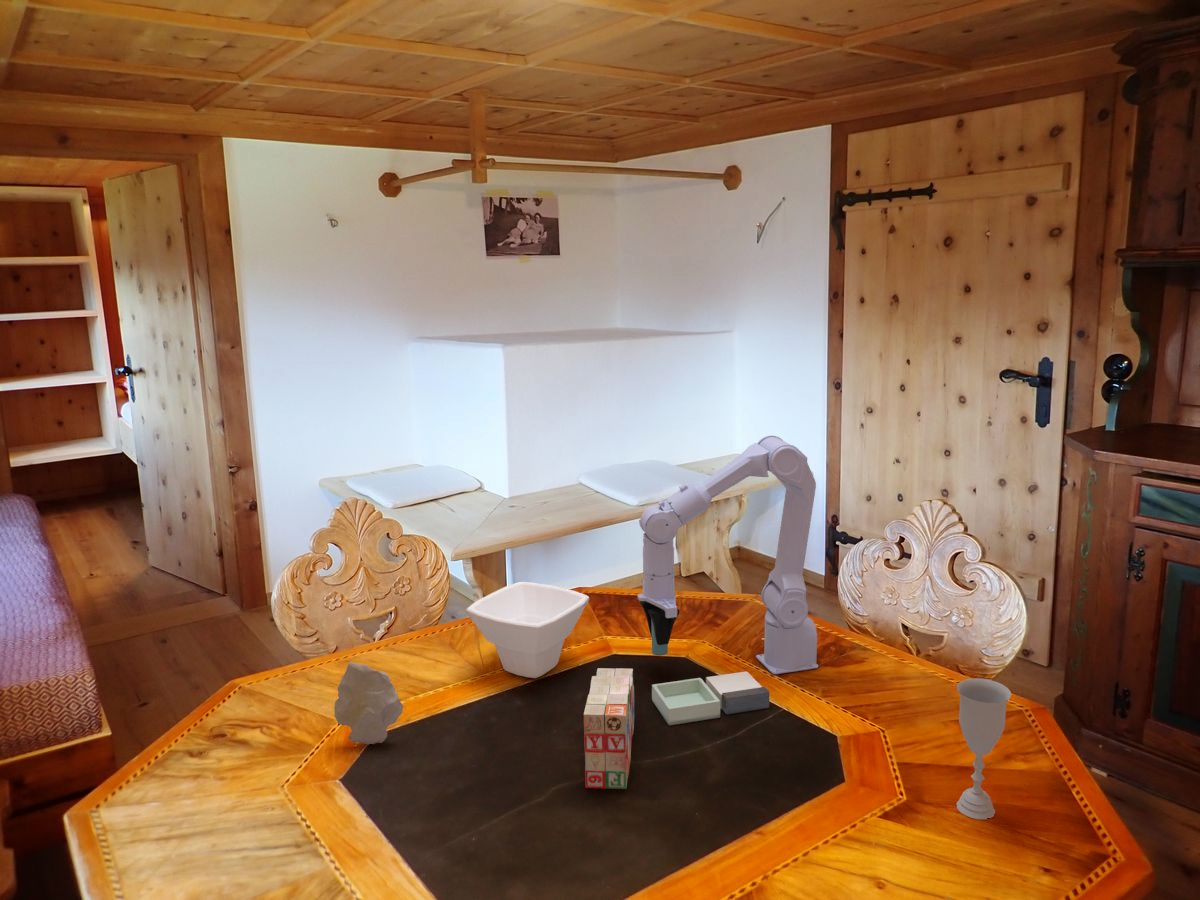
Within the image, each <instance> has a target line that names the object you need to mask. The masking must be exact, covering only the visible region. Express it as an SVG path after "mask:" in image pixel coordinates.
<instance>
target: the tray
mask: <svg viewBox="0 0 1200 900" xmlns="http://www.w3.org/2000/svg"><path fill="white" fill-rule="evenodd" d="M651 701H652V702H653V704H654V705H655V707H656V708H657V710H658V712H660V715H661V716H662V717H663V719H664V721H665V722H666V723H667V725H668V726H674V725H680V724H681V725H682V724H687V723H692V722H699V721H706V720H712V719H718V718H721V708H720V700H719V699H718V698H717V697H716V696H715V694H714V693H713V692H712V691H711V690H710V688H709V687H708V686H707V685H706V681H704V680H703V679H702V678H701V677H697V678H689V679H682V680H677V681H670V682H669V681H668V682H662V683H655V684H651Z"/></svg>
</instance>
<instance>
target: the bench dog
mask: <svg viewBox="0 0 1200 900" xmlns="http://www.w3.org/2000/svg"><path fill="white" fill-rule="evenodd" d="M770 693H771V692H770V691H769V689H768V688H767V687H766V686H762V687H759V688H753V689H746V690H740V691H733V692H726V693H722V709H721V710H722V711H723V712H724V713H725V715H732V714H738V713H745V712H750V711H758V710H764V709H769V708H770Z"/></svg>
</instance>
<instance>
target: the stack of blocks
mask: <svg viewBox="0 0 1200 900" xmlns="http://www.w3.org/2000/svg"><path fill="white" fill-rule="evenodd" d="M584 707H585V708H584V712H583V732H584V733H583V734H584V735H583V743H584V763H585V764H584V779H585V785H584V786H585V788H586V789H612V790H613V789H615V790H626V789H627V786H628V779H629V775H630V766H631V759H632V756H631V754H632V753H631V752H632V741H633V735H634V729H635V719H636V718H635V717H636V716H635V686H634V668H621V667H620V668H617V667H616V668H605V667H604V668H603V667H602V668H601V667H600V668H599V667H598V668H597V669H596V675H592V676H591V680H590V688H589V693H588V695H587V698H586V703H585V706H584Z"/></svg>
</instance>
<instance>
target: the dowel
mask: <svg viewBox="0 0 1200 900" xmlns="http://www.w3.org/2000/svg"><path fill="white" fill-rule="evenodd" d="M651 624H652V637H651V654H652V655H654V656H667V654H668V653H669V649H668V648H669V646H668V645H669V643H668V644H664V645H658V644H657V642H656V638H655V631H654V626H653V622H652V619H651Z"/></svg>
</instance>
